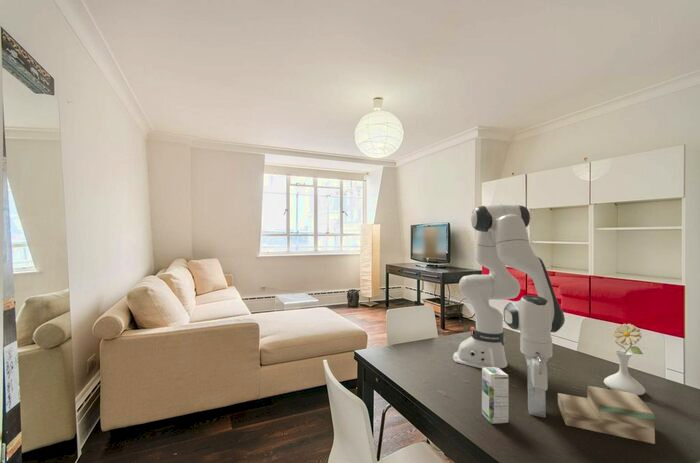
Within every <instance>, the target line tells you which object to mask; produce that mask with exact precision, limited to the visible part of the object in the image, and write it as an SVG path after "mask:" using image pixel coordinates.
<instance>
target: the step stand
mask: <svg viewBox="0 0 700 463" xmlns="http://www.w3.org/2000/svg"><path fill="white" fill-rule="evenodd" d="M586 387H587V388H586V389H587V390H586V394H587V397H582V396H577V395H572V394H568V393H567V394H566V393H561V392H557V406H558V408H559V412H560V414H561V416H562V419H563V421H564V424H565V425H566V426H568V427H572V428H573V427H574V428H579V429H582V430H586V431H587V430H589V431H592V432H596V433H601V434H602V433H603V434H607V435H610V436H611V435H612V436H616V437H621V438H625V439H631V440H634V441H638V442H644V443H647V444H648V443H649V444H653V445H654V444H655V445H656V438H655V437H656V433H655V424H656V423H655V422H656V416H655V413H654V412H653V411H652V409H650V407H648V406H647V404H646V403H645V402H644V401H643V400H642V399H641V398H640V397H639V395H636V394H635V393H629V392H623V391H617V390H613V389H611V388H604V387H599V386H593V385H586Z"/></svg>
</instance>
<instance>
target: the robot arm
mask: <svg viewBox="0 0 700 463" xmlns="http://www.w3.org/2000/svg"><path fill="white" fill-rule="evenodd" d="M530 213H531V212H530V210H528V208H527V207H526V206H523V205H520V204H519V205H518V204H515V205H513V204H495V205H493V204H492V205H486V206H485V205H480V206H476V207H475V208H474V209H473V210H472V212H471V215H470V216H471V217H470V221H471V226H472V228H473V229H474V230H475V231H477V234H478V235H477V243H476V244H477V245H476V261H477V262H478V264H479V265H480V266H482V267H483V268H486V269H488V270H489V273H488V274H469V275H464V276H462V277H461V278H460V279H459V282H458V290H459V293H460V294H461V295H462V297H463V298H465V299H466V300H467V301H468V302H469V303H470V304H471V306H472V308H473V311H474V317H475V327H474V326H471V327H470V337H467V339H464V340H463V341H461V342H460V343H459V346H458V349H457V351H456V350H455V352H454V353H453V354H452V355H453V356H452V359H453V361H454V362H455V363H457V364H462V365H465V366H470V367H474V368H478V369H482V368H486V367H496V368H499V369H500V370H501V369H504V368H507V367H508V362H507V358H506V354H505V347H504V345H505V332H504V323H505V324H506V325H507V326H508V327H509V328H510V329H512V330H515V331H520V336H519V348H520V349H519V351H520V352H521V354H523V355H524V359H525V360H526V365H527V364H528V365H529V366H530V376H531V380H532V384H533V387H534V389H535V398H536V399H537V400H542V394H543V391H545V392H546V391H548V387H549V384H548V383H549V382H548V368H547V362H548V360H549V359H551V358H552V357H553V338H552V335H551V333H556V332H558V331H560V329H562V327H563V326H564V324H565V321H566V320H565V314H564V312H563V309H562V307H561V306H560V304H559V302H558V299H557V296H556V294H555V291H554V288H553V285H552V282H551V279H550V277H549V273H548V271H547V268H546V266H545V264H544V261H543V260H542V258H540V257H538V256H537V255H536V253H535V252H534V251H533V249H532V247H531V244H530V238H529V234H528V230H527V227H528V226H529V225H530V220H531V214H530ZM507 267H509V268H512V269H514V270H517V271H520V272H522V273H524V274H526V275H528V276H529V277H530V278H531V280H532V282H533V284H534V285H533V286H534V287H535V291H536V294H537V295H532V294H529V295H523V296H522V297H521V298H520V300H517V301H511V302H508V303H507V304H506V305H505V306H504V308H503V314H502V312H501V311H500V310H499V309H497V308H496V307H494V306H492V305H490V300H494V301H495V300H501V301H502V300H504V301H505V300H511V299H515V298H517V297H518V296H519V294H520V293H521V285H520V282H519V280H518V279H517V278H516V277H515V276H513V275H512V274H511V272H510V271H509V270H508V268H507ZM539 373H540V374H539Z"/></svg>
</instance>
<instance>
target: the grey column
mask: <svg viewBox="0 0 700 463" xmlns="http://www.w3.org/2000/svg"><path fill="white" fill-rule="evenodd" d="M526 365H527V367H526V368H527V370H526V372H527V374H526V375H527V377H526V378H527V408H528V413H529V415H530V416H533V417H534V416H535V417H540V418H546V419H547V417H546V416H547V415H546V414H547V412H546V411H547V409H546V408H547V407H546V406H547V404H546V391H543V394H542V400H537V399H536V398H535V389H534V387H533V384H532V380H531V376H530V366H529V365H528V364H527V363H526ZM539 374H540V373H539Z"/></svg>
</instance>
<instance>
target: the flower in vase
mask: <svg viewBox="0 0 700 463" xmlns="http://www.w3.org/2000/svg"><path fill="white" fill-rule="evenodd" d="M612 333H613V337H614V338H613V339H614V342H615V344H616V345H618V346H619V347H621V348H623V349H624V350H623V349H622V350H621V349H615V350H613V351H614V353H615V354H616V356H617V358H618V363H619V368H618V369H619V370H618V371H617V372H616V373H614V374H611V375H608V376H607V377H605V378H604V380H603V383H604V384H605V386H606V387H607V388H608V389H611V390H617V391H623V392H629V393H635V394H636V395H637V396H642V395H644V394H645V393H646V388H645V387H644V386H643V385H642V384H641V383H640V382H638V381H637V379H635V378H633V377H632V376H631V375H630V373H629V371H628V370H629V368H628V366H629V360H630V358H631V357H632V356H633V355H634V354H635V355H644V353H643V352H642V351H641V349H640V348H639V347H638V346H632V345H636V344H637V343H638V342H640V340H641V338H643V335H642V332H641V329H639V327H637V326H635V325H634V324H631V323H627V324H626V323H623V324H618V326H615V329H614V330H613V332H612ZM625 346H629V347H628V348H627V349H626V347H625ZM629 350H630V351H631V352H630V351H629Z"/></svg>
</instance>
